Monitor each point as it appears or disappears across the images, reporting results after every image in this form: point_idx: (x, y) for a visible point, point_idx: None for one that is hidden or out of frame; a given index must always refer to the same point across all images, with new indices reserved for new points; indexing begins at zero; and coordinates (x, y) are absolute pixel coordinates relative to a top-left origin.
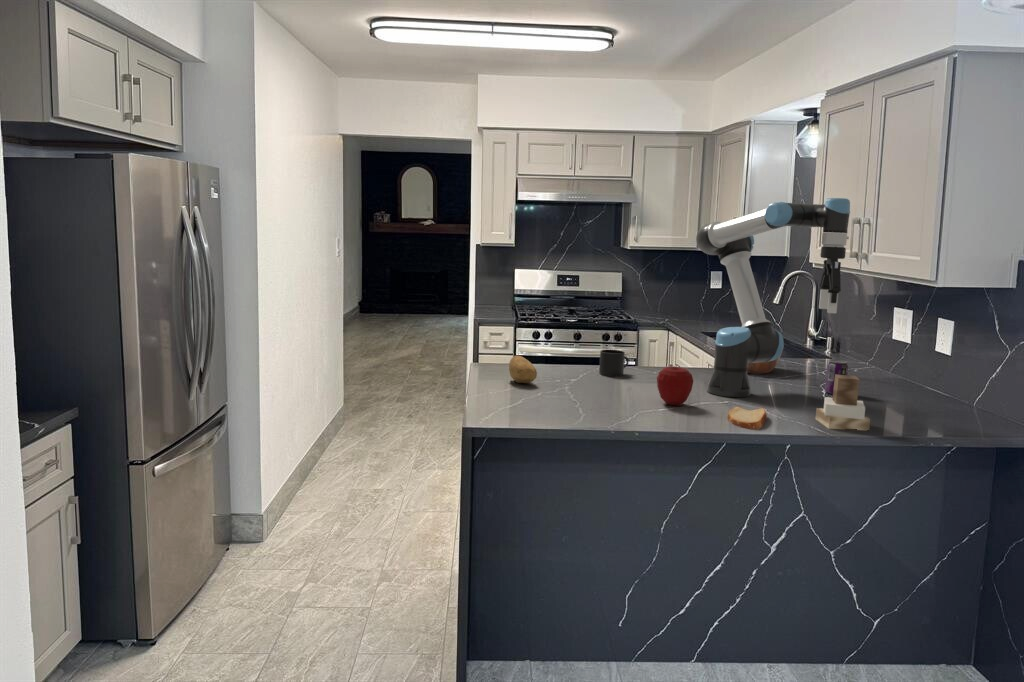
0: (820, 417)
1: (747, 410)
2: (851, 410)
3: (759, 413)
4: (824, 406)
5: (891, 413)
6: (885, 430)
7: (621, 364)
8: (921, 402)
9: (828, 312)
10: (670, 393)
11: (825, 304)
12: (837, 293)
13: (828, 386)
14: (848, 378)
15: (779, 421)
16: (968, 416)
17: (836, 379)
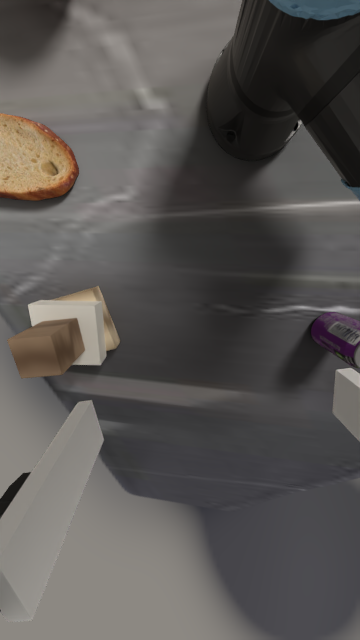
0: (74, 293)
1: (44, 156)
2: None
3: (13, 182)
4: (76, 302)
5: (200, 394)
6: (82, 375)
7: None
8: (299, 438)
9: (78, 408)
10: None
11: (354, 420)
12: (4, 613)
13: (326, 319)
14: (18, 358)
15: (41, 225)
16: (227, 473)
17: (32, 335)
